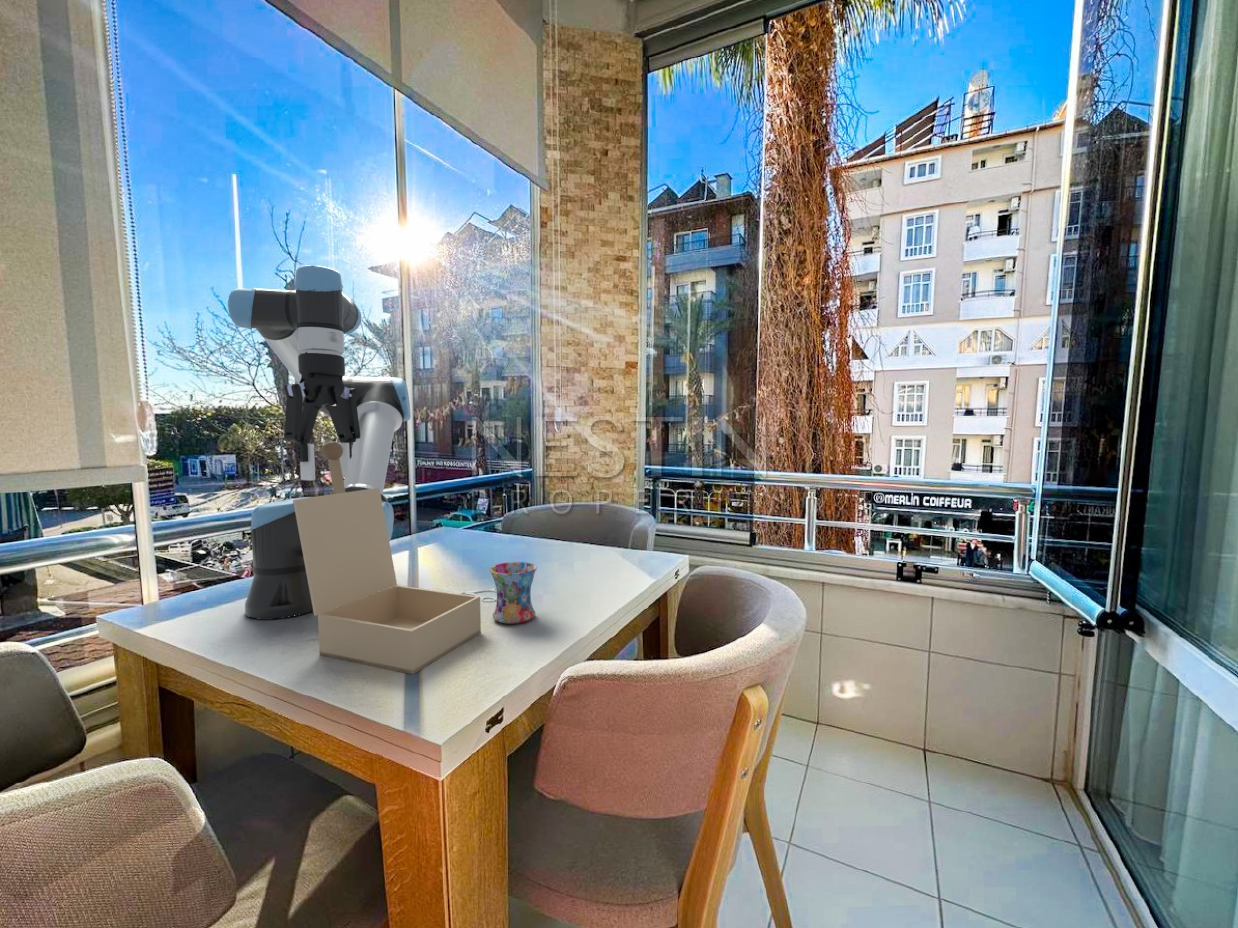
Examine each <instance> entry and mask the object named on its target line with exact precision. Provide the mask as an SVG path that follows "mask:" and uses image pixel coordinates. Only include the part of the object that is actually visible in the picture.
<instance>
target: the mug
mask: <svg viewBox="0 0 1238 928" xmlns="http://www.w3.org/2000/svg"><path fill="white" fill-rule="evenodd" d="M537 568H538V567H537V565H536V564H534V563H531V562H528V561H509V562H503V563H502V562H501V563H498V564H494V565H493V566H491V567H490V569H489V572H490V574H491V576H492V579H493V581H494V584H495V588H496V591H497V593H496V605H495V609H494V611H493V614H492V618H493V619H494V621H496V622H499V623H503V624H510V625H511V624H513V625H514V624H521V623H525V622H528V621H529V620H531V619H533V618H534V617H535V615H536V611H535V609H534V606H533V603H532V597H531V596H532V595H531V591H532V584H533V581H534V577H535V573H536V571H537Z"/></svg>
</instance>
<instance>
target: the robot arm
mask: <svg viewBox="0 0 1238 928" xmlns="http://www.w3.org/2000/svg"><path fill="white" fill-rule="evenodd" d="M294 273H295V274H294V285H293V288H294V290H290V289H289V290H288V289H286V290H285V289H269V288H256V287H253V288H234V289H233V290H231V291H230V293H229V294H228V301H227V309H228V314H229V316H230V319H231V321H232V322H233V324H235V326H237V327H238V328H242V329H248V330H252V329H256V331H257V332H258V333H259V334H260V335H261V337H262V338H263V339H264V341H265V342H266V344H267V345H268V346H269V347H270V348H271V350H272V351H273V352H274V354H275V356H277V357H278V359H279V360H280V361H281V363H282V364H283V365H284V366H285V368H286V369H287V371H288V372H289V373H290V374H291V376H292V378H294V379H295V381H296V382H297V383H287V384H284V389H283V390H284V392H285V396H286V403H285V405H286V406H285V418H284V419H285V420H284V434H283V435H284V436H283V437H284V438H283V439H284V440H286V441H289V442H291V444H293V445H295V448H296V450H295V451H296V461H297V462H298V463H299V469H300V471H299V473H300V480H301V481H316V465H315V463H316V462H315V460H316V459H315V443H310V442H311V438H312V436H313V435H312V434H313V431H314V427H315V426H316V425H315V424H316V421H317V417H318V413H319V411H320V412H322V413H324V414H325V415H327V416H329V417H330V419H331V421H332V425H333V427H334V429H335V432H336V435H337V438H338V441H339V442H338V443H339V444H340V445H341V446H342V448H343V454H342V456H341V457H340V458H339V459H340V465H341V470H342V476H343V477H344V479H343V481H344V487H345V492H353V491H360V490H367V489H374V488H380V494H381V499H382V505H383V510H384V516H385V521H386V527H387V532H388V538H389V543H390V542H391V538H392V536H393V531H394V523H395V521H394V520H395V514H394V509H393V505H392V504H391V503H390V502H389V501H388V498H387V497H386V496H385V494H384V490H385V489H384V488H385V482H386V479H387V478H386V477H387V473H388V472H387V471H388V468H389V462H390V455H391V451H392V444H393V438H394V433H395V432H396V431H398V430H399V429H400V428H401V427H402V423H403V422H406V421H409V420H411V417H412V416H411V404H410V395H409V391H408V385H407V383H406V381H405V380H404V379H403V378H401V377H391V376H388V377H383V376H382V377H381V376H378V377H376V376H373V377H372V376H345V375H346V365H345V363H346V361H345V360H346V359H345V358H344V356H342V355H343V354H344V353H345V337H344V335H349V334H352V333H354V332H355V331H356V330H357V329H358V328H359V327H360V325H361V324H362V323H361V322H362V312H361V309H360V308H359V307H358V305H357V303H355V301H354V300H353V299H351V298H350V297H348V296H347V295H345V294H344V293H343V289H344V286H343V283H342V282H343V281H342V275H341V273H340V272H339V271H338V270H336V269H334V268H331V267H327V266H323V265H317V264H315V265H314V264H313V265H312V264H311V265H310V264H304V265H301V266H298V267H297V268H295V271H294ZM310 497H311V496H305V497H298V498H290V499H284V500H279V501H275V502H274V501H272V502H269V503H265V504H261V505H258V506H256V507H255V508H254V509H253V510H252V511H251V515H250V516H251V517H250V518H251V519H250V520H251V521H250V522H251V523H250V528H249V529H250V534H251V547H252V549H251V551H252V553H251V554H252V567H253V568H252V569H253V578H252V581H251V584H250V587H249V589H248V594H247V597H246V600H245V603H244V614H246V615H247V616H249V617H253V618H260V619H259V620H271V619H270V618H280V619H283V618H282V617H287V618H289V617H288V616H293V617H295V616H294V615H298V616H300V615H299V614H302V615H304V614H303V613H306V614H308V613H307V612H309V613H312V612H313V607H312V601H311V596H310V590H309V585H308V579H307V574H306V568H305V563H304V557H303V552H302V546H301V541H300V536H299V530H298V525H297V519H296V514H295V508H294V503H293V500H296V499H303V498H310ZM311 611H312V612H311ZM246 615H245V616H246ZM247 616H246V617H247ZM249 617H248V618H249ZM253 618H252V619H253Z"/></svg>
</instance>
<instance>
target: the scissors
mask: <svg viewBox="0 0 1238 928" xmlns="http://www.w3.org/2000/svg"><path fill="white" fill-rule="evenodd" d="M432 590H436V588H432ZM437 591H443V592H450V593H457V594H464V595H472V596H479V597H480V602H483V603H493V602H497V597H495V596H481V595H477V594H478V593H480V594H481V593H486V592H487V593H488V592H490V593H491V592H493V593H496V594H497V590H496V587H494V588H490V589H482V590H469V591H465V590H463V591H460V590H453V589H452V590H451V589H444V588H437ZM485 599H491V600H485Z"/></svg>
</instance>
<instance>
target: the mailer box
mask: <svg viewBox="0 0 1238 928" xmlns="http://www.w3.org/2000/svg"><path fill="white" fill-rule="evenodd" d="M479 596H480V595H477V596H472V595H464V594H457V593H453V592H448V591H443V590H436V589H429V588H427V589H425V588H417V587H412V586H406V585H398V584H397V585H396V586H393V587H390V588H388V589H385V590H382V591H380V592H377V593H375V594H372V595H369V596H367V597H364V598H361V599H359V600H356V601H353V602H351V603H348V604H346V605H343V606H340V607H338V608H335V609H332V610H330V611H327V612H324V613H322V614H319V615H317V626H318V649H319V650H318V651H319V652H318V653H319V656H323V657H328V658H333V659H337V660H338V659H339V660H342V661H348V662H351V663H357V664H361V665H366V666H371V667H375V668H376V667H377V668H382V669H385V670H390V671H395V672H401V673H404V674H409V675H414V674H416V673H418V672H419V671H421V670H423V669H424V668H426V667H427V666H429V665H431V664H432V663H434V662H436V661H437V660H439V659H441V658H442V657H444V656H446V655H448V653H451V652H452V651H454V650H456V649H457V648H459V647H460V646H462V645H463V644H465V643H467V642H468V641H470V640H471V639H473V638H475V637H476V636H478V635H480V634H481V632H482V631H481V630H482V629H481V628H482V625H481V622H482V621H481V620H482V619H481V617H482V616H481V615H482V613H481V599H480V597H479Z"/></svg>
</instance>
